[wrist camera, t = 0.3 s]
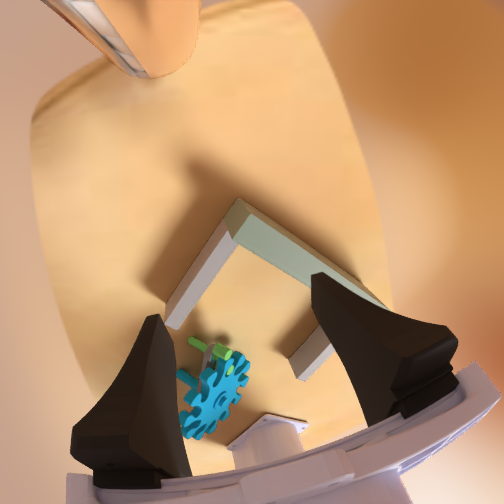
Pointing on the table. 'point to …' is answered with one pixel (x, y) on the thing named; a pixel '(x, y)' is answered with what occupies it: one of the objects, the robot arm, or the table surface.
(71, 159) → the table surface
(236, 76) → the table surface
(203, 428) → the blue toy cog wheel
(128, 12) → the white cylindrical tube
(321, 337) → the green u-shaped bracket
